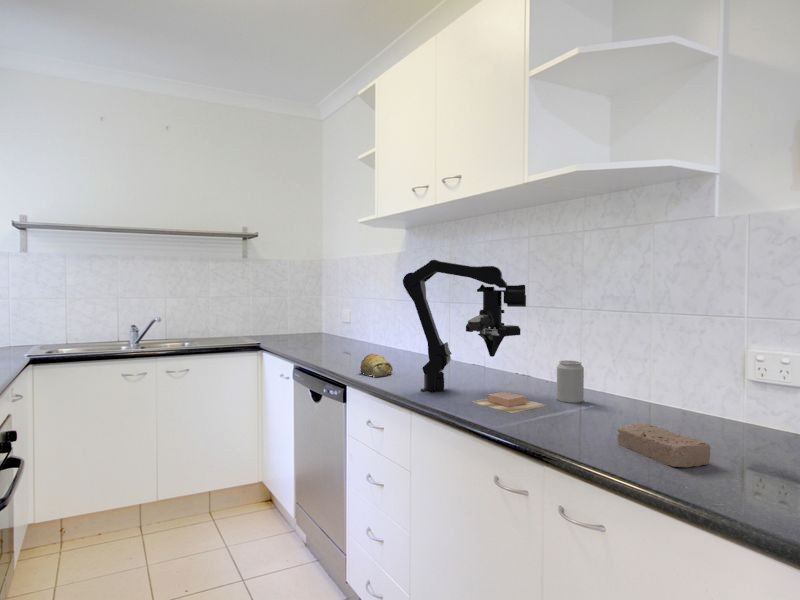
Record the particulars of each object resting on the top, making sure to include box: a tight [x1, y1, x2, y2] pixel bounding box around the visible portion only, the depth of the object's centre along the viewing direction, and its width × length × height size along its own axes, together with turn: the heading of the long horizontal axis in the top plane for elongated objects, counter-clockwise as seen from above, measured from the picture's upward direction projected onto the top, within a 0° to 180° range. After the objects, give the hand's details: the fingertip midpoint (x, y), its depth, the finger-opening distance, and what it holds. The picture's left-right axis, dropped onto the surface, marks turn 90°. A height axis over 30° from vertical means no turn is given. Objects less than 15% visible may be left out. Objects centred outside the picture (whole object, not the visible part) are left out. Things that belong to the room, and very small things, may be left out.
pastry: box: [360, 353, 393, 378], centre depth 193 cm, size 14×12×8 cm
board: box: [470, 397, 550, 414], centre depth 142 cm, size 16×15×1 cm
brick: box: [616, 422, 711, 468], centre depth 102 cm, size 17×8×5 cm, turn 17°
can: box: [556, 360, 585, 404], centre depth 146 cm, size 8×8×12 cm
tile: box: [487, 391, 527, 407], centre depth 143 cm, size 2×7×8 cm
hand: (491, 356), depth 156 cm, fingers closed
